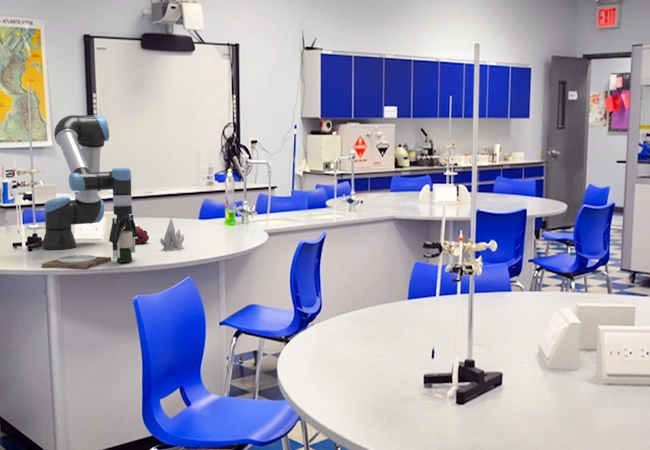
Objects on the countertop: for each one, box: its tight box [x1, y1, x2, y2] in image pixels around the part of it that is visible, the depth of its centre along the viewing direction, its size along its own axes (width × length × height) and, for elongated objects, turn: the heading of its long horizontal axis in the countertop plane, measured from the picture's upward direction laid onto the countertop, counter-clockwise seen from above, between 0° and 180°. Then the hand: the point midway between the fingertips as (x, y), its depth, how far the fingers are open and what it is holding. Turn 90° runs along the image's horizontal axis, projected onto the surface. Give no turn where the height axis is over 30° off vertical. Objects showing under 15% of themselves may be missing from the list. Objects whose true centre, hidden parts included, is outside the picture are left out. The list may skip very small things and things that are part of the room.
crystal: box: [159, 217, 185, 252], centre depth 350 cm, size 10×13×15 cm
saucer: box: [57, 254, 97, 264], centre depth 313 cm, size 15×15×1 cm
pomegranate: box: [122, 225, 150, 245], centre depth 367 cm, size 15×13×9 cm
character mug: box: [116, 231, 133, 264], centre depth 315 cm, size 11×7×13 cm, turn 163°
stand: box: [41, 256, 112, 270], centre depth 313 cm, size 20×20×2 cm
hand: (124, 255), depth 315 cm, fingers open, 13 cm apart
